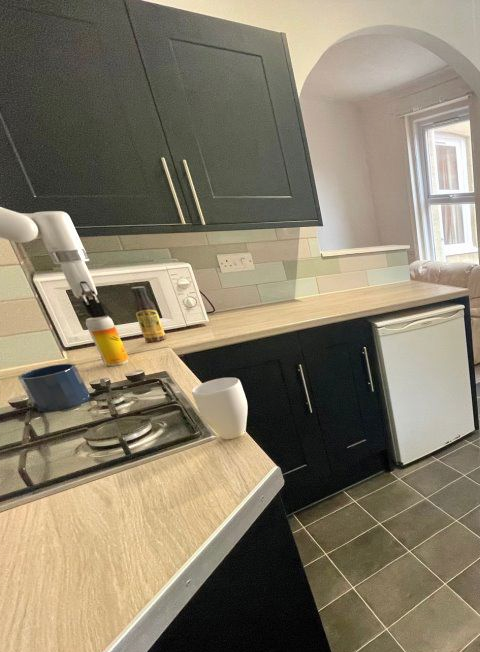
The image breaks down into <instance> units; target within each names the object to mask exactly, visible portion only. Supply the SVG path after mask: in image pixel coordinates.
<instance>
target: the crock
mask: <svg viewBox="0 0 480 652" xmlns="http://www.w3.org/2000/svg"><path fill="white" fill-rule="evenodd" d="M17 378H18V381H19V382H20V384H21V386H22V388H23V390H24V391H25V393H26V395H27V396H28V398H29V401H30V402H31V404H32V405H33V407H34V409H36V408H38V409H39V410H40V411H41V412H40V413H51V412H58V411H62V410H66V409H71V408H73V407H76V406H79V405H82V404H83V403H85V402H87V401H89V400H90V399H91V398H92V396H91V394H90V392H89V390H88V388H87V386H86V384H85V382H84V380H83V377H82V376H81V373H80V371H79V370H78V368H77V366H76V364H75V363H58V364H52V365H48V366H43V367H38V368H35V369H31V370H29V371H26V372H24V373H22V374H20V375H18V376H17Z"/></svg>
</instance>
